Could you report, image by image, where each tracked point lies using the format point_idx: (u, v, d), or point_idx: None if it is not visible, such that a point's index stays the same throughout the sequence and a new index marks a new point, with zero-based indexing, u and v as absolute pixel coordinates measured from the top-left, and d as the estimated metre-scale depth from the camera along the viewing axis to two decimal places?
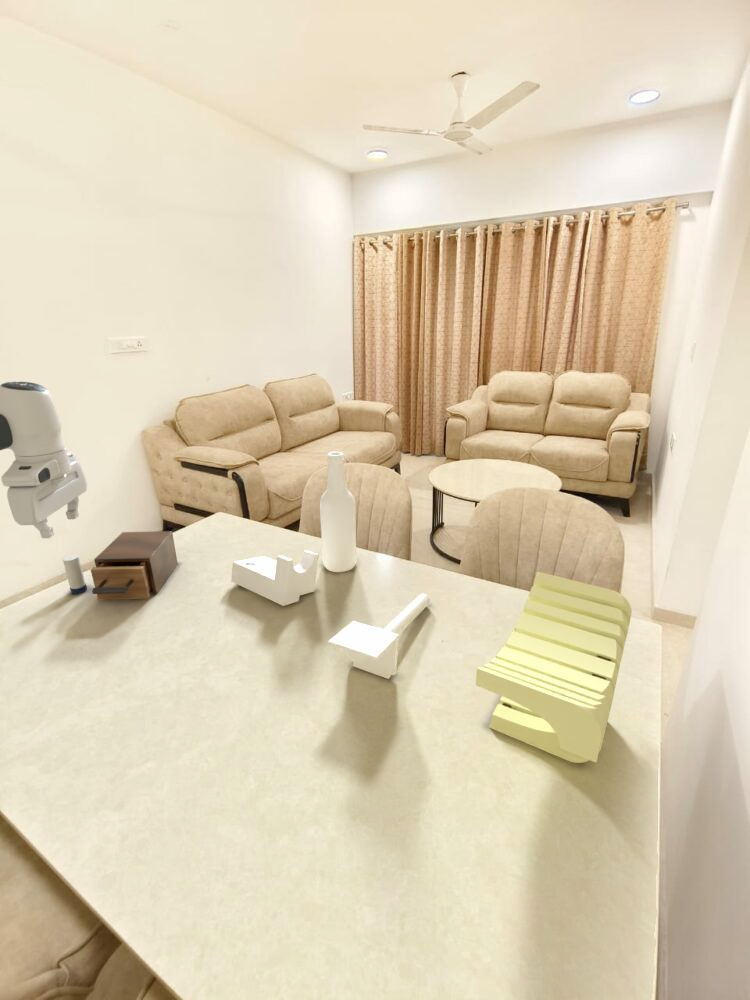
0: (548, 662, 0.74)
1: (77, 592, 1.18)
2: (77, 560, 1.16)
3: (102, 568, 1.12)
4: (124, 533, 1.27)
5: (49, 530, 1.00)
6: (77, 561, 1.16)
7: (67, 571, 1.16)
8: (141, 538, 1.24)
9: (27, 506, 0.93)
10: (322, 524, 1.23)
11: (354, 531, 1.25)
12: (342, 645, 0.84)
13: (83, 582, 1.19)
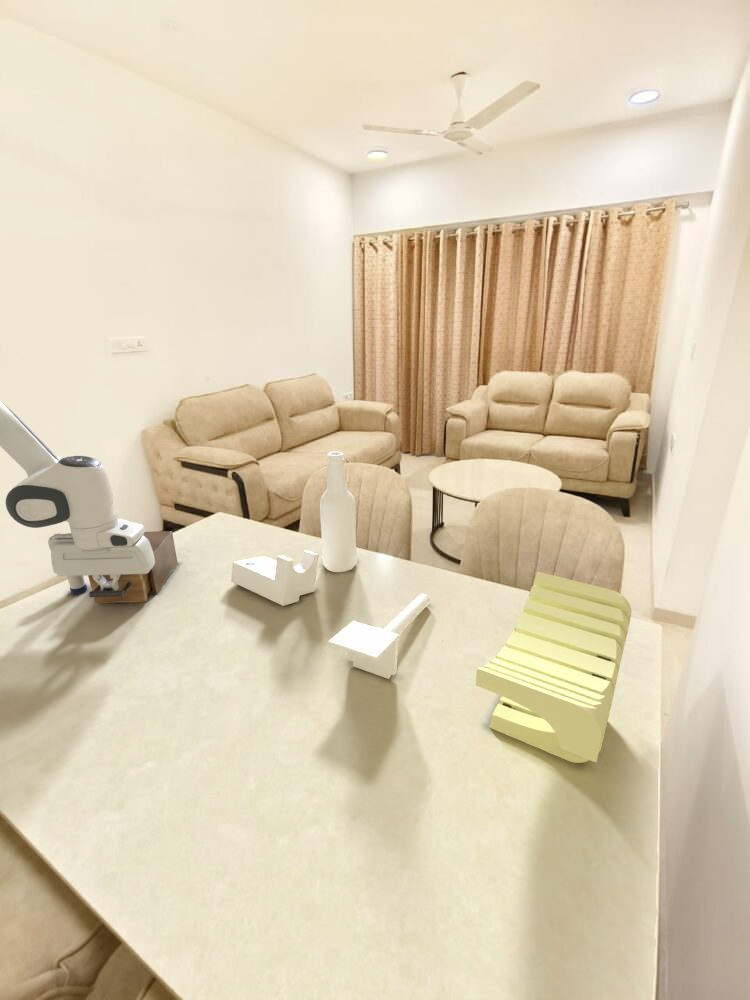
0: (548, 662, 0.74)
1: (77, 592, 1.18)
2: None
3: None
4: None
5: None
6: None
7: None
8: None
9: (151, 550, 1.07)
10: (322, 524, 1.23)
11: (354, 531, 1.25)
12: (342, 645, 0.84)
13: (83, 582, 1.19)
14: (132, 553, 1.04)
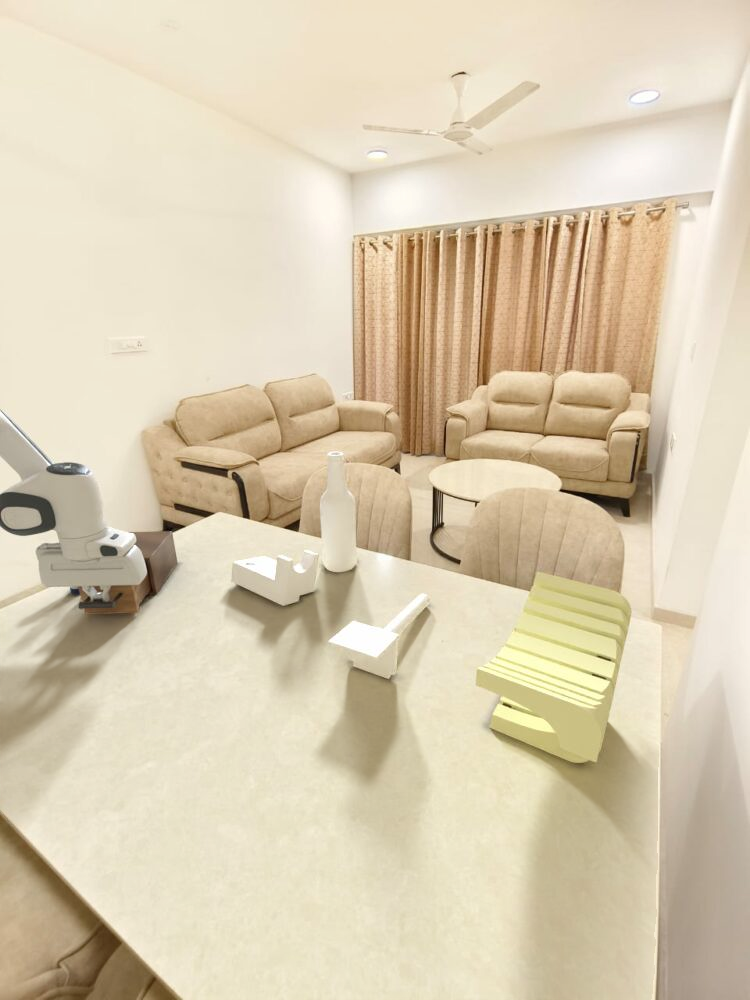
0: (548, 662, 0.74)
1: (77, 592, 1.18)
2: None
3: None
4: None
5: None
6: None
7: None
8: (141, 538, 1.24)
9: (142, 561, 1.03)
10: (322, 524, 1.23)
11: (354, 531, 1.25)
12: (342, 645, 0.84)
13: None
14: (123, 564, 1.00)
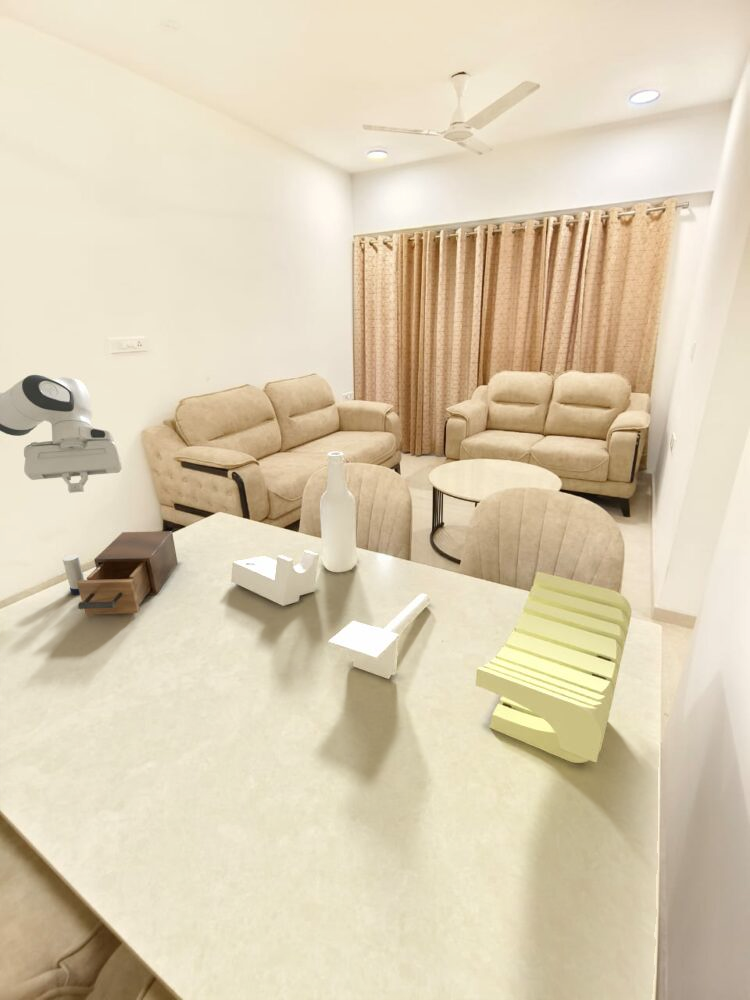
0: (548, 662, 0.74)
1: (77, 592, 1.18)
2: (77, 560, 1.16)
3: (89, 581, 1.07)
4: (124, 533, 1.27)
5: None
6: (77, 561, 1.16)
7: (67, 571, 1.16)
8: (141, 538, 1.24)
9: (119, 457, 1.26)
10: (322, 524, 1.23)
11: (354, 531, 1.25)
12: (342, 645, 0.84)
13: None
14: (106, 449, 1.23)
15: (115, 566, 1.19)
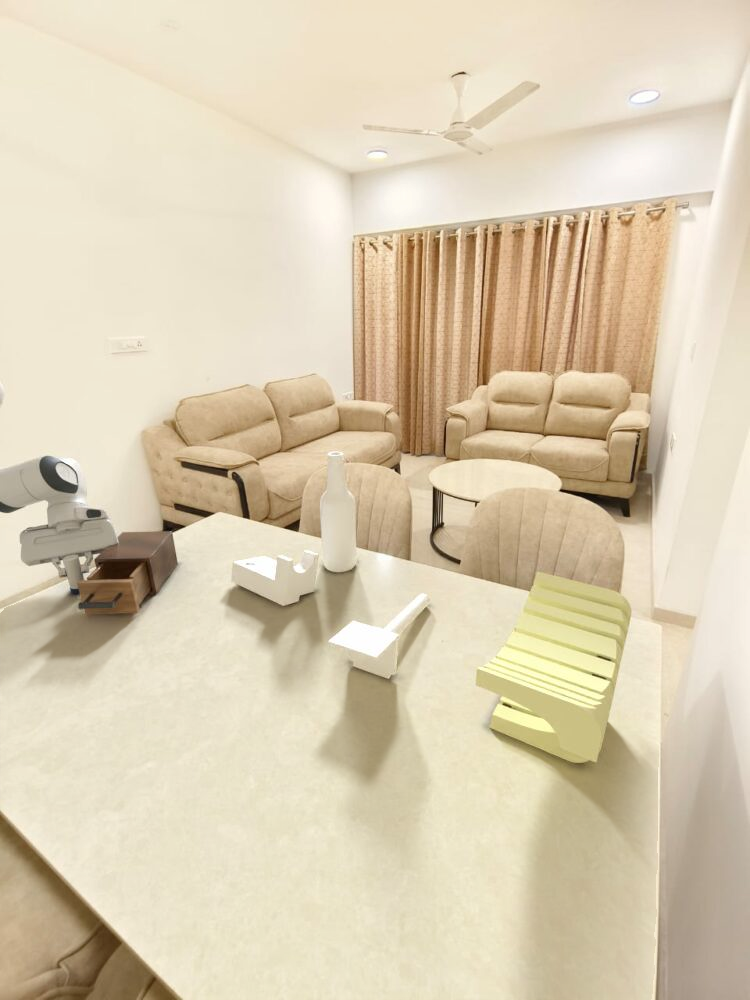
0: (548, 662, 0.74)
1: (77, 592, 1.18)
2: (77, 560, 1.16)
3: (89, 581, 1.07)
4: (124, 533, 1.27)
5: None
6: (77, 561, 1.16)
7: (67, 571, 1.16)
8: (141, 538, 1.24)
9: None
10: (322, 524, 1.23)
11: (354, 531, 1.25)
12: (342, 645, 0.84)
13: None
14: (103, 528, 1.22)
15: (115, 566, 1.19)
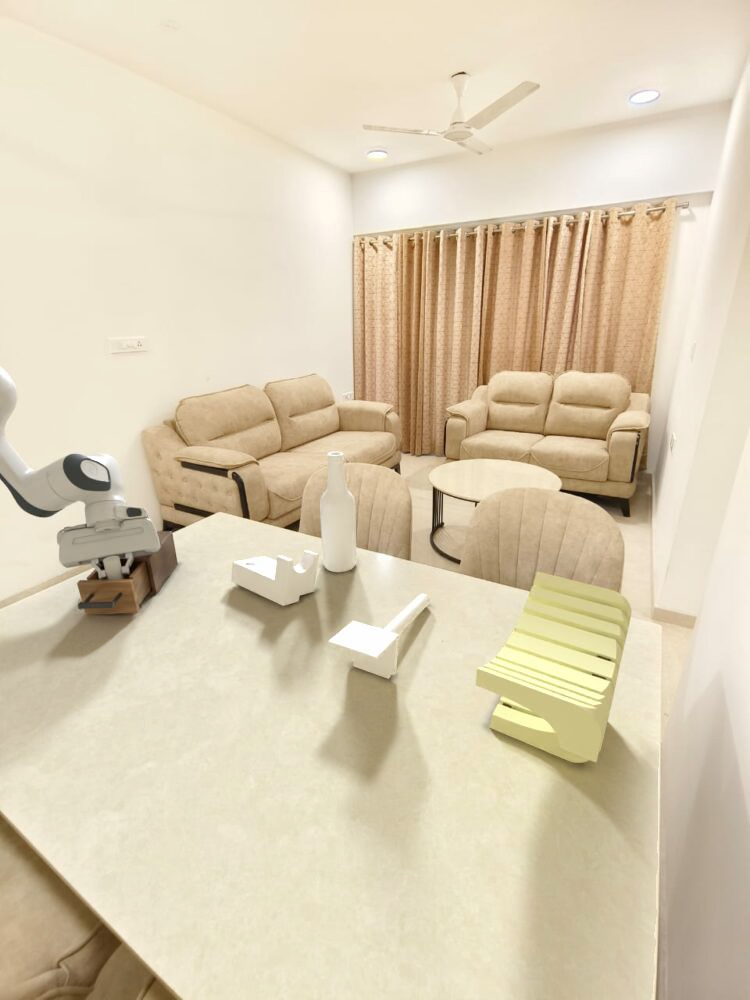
0: (548, 662, 0.74)
1: None
2: (118, 561, 1.09)
3: (89, 581, 1.07)
4: None
5: None
6: (118, 563, 1.09)
7: (108, 573, 1.09)
8: None
9: None
10: (322, 524, 1.23)
11: (354, 531, 1.25)
12: (342, 645, 0.84)
13: None
14: (143, 527, 1.15)
15: None
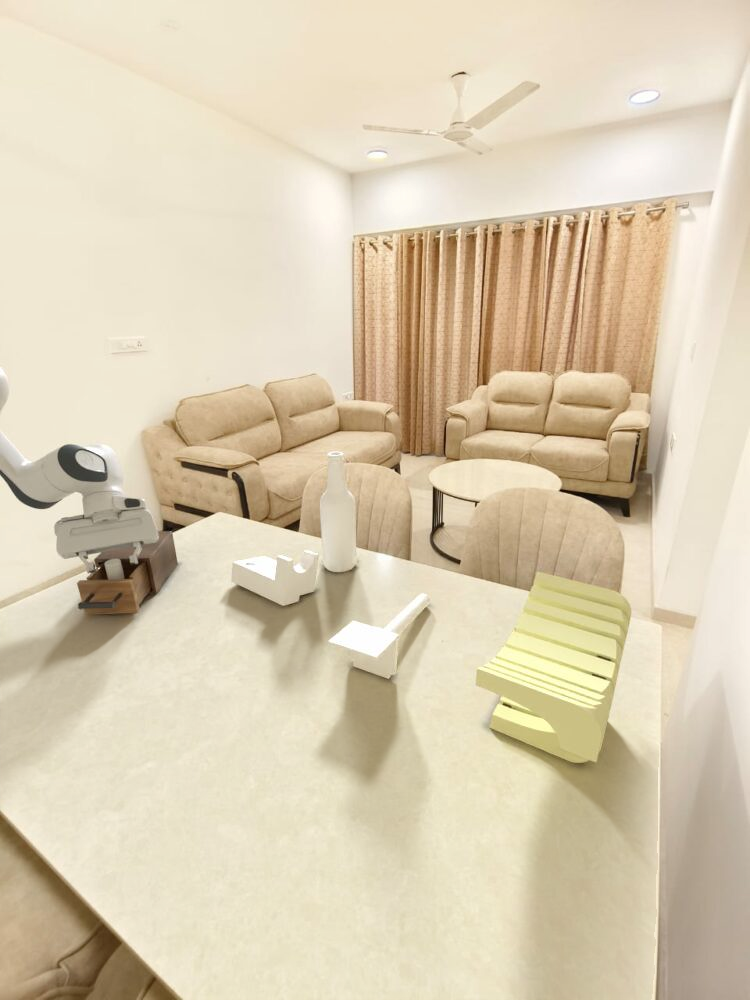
0: (548, 662, 0.74)
1: None
2: (120, 564, 1.10)
3: (89, 581, 1.07)
4: None
5: None
6: (119, 566, 1.10)
7: (109, 576, 1.09)
8: None
9: None
10: (322, 524, 1.23)
11: (354, 531, 1.25)
12: (342, 645, 0.84)
13: None
14: (142, 518, 1.14)
15: None
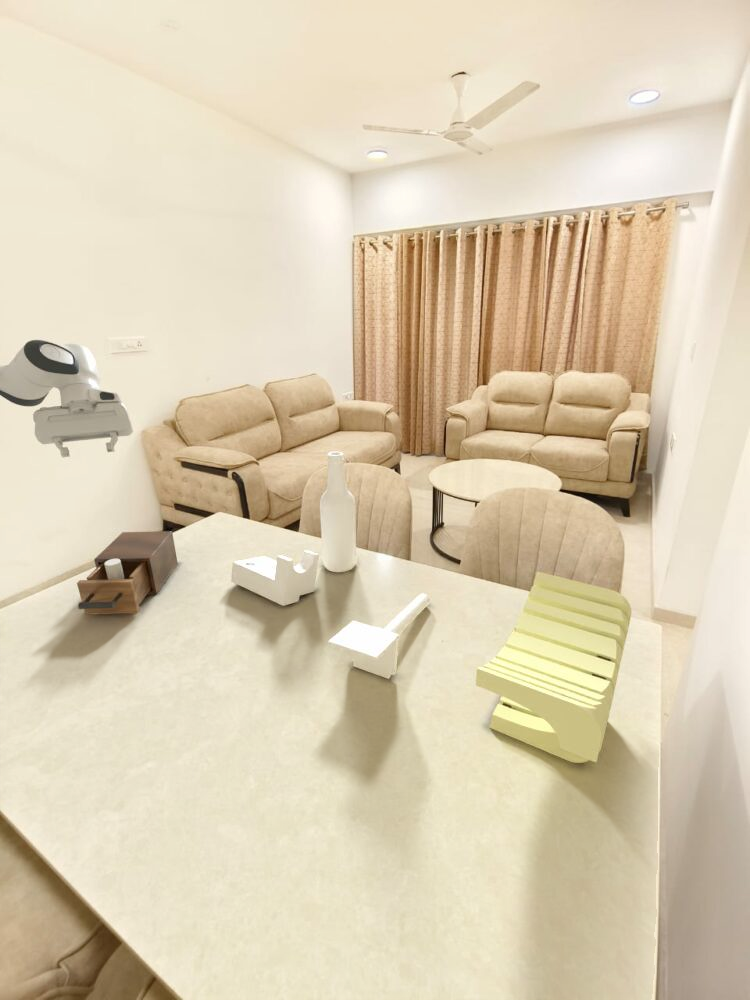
0: (548, 662, 0.74)
1: None
2: (119, 564, 1.10)
3: (89, 581, 1.07)
4: (124, 533, 1.27)
5: None
6: (119, 566, 1.10)
7: (109, 576, 1.09)
8: (141, 538, 1.24)
9: None
10: (322, 524, 1.23)
11: (354, 531, 1.25)
12: (342, 645, 0.84)
13: None
14: (116, 411, 1.21)
15: None
